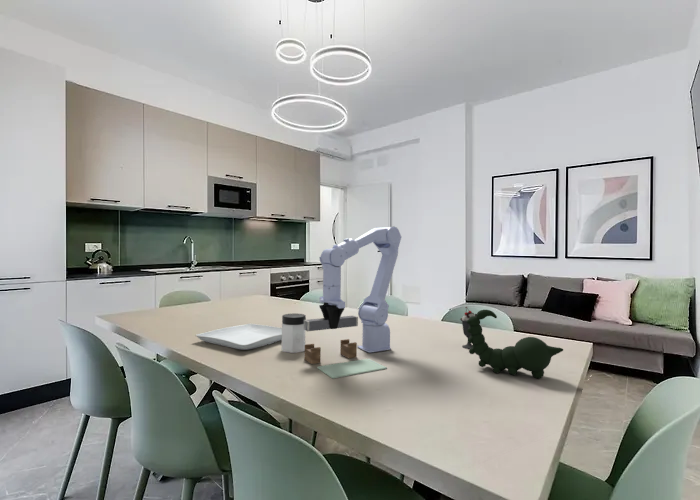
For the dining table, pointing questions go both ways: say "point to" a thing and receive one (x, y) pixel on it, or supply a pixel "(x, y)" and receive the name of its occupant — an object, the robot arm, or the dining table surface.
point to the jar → (293, 333)
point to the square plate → (243, 336)
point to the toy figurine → (510, 350)
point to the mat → (351, 368)
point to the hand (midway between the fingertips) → (331, 327)
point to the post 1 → (312, 354)
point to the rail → (325, 323)
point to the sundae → (466, 326)
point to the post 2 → (348, 349)
